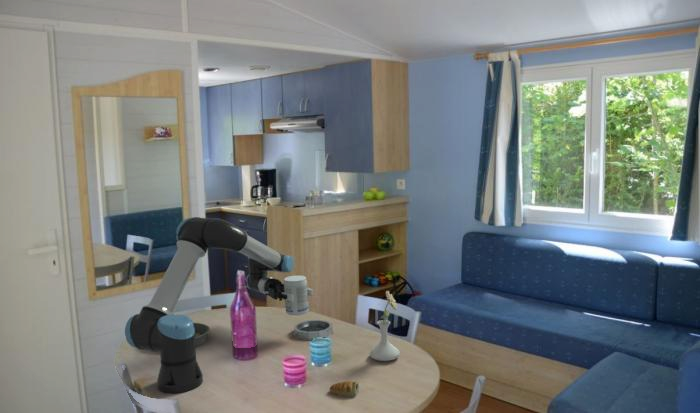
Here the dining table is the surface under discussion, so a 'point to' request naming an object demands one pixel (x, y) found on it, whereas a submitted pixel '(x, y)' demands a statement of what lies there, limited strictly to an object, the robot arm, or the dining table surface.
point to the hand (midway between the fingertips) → (302, 295)
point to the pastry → (345, 388)
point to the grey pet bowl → (312, 329)
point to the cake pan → (200, 332)
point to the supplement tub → (296, 295)
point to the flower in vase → (385, 337)
